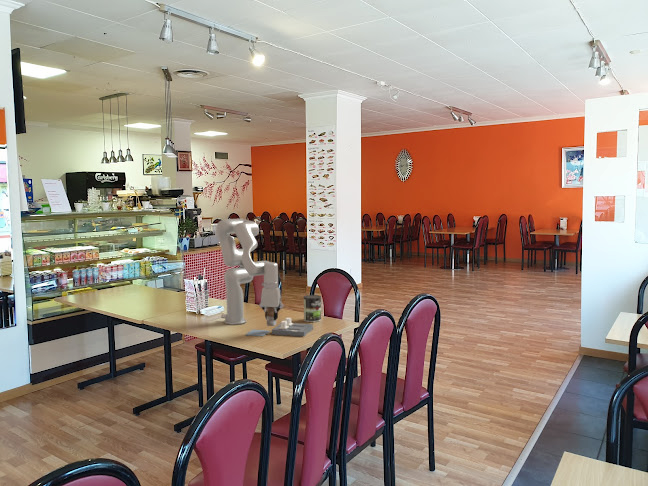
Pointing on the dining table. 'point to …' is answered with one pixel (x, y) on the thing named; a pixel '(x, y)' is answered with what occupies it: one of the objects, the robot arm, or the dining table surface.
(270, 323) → the brown grey cylinder
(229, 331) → the dining table surface
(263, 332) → the mat
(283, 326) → the tab
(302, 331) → the switch panel
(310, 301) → the coffee can
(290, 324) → the tab
